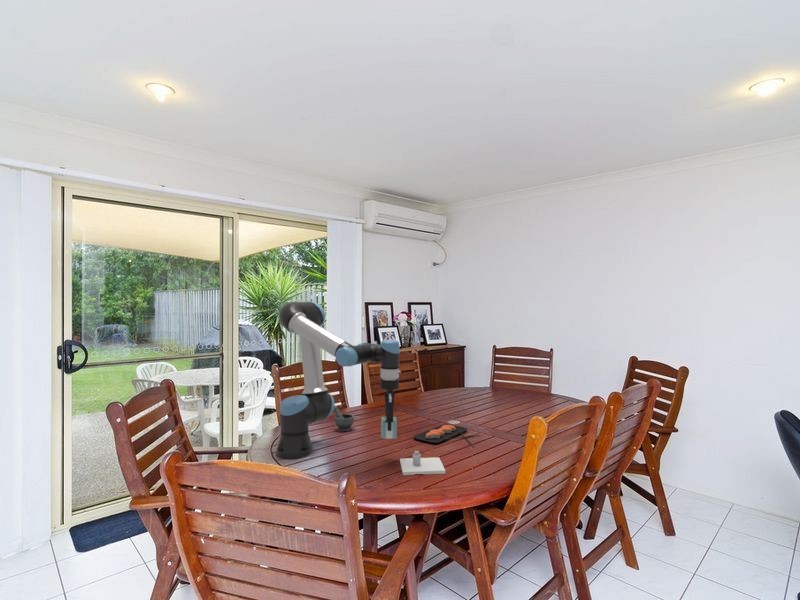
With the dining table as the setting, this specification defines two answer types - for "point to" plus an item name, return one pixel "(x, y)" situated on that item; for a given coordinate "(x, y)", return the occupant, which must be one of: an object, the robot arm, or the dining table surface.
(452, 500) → the dining table surface
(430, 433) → the sushi plate
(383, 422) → the cap
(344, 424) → the mortar and pestle
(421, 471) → the stud board
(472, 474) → the dining table surface
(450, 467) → the dining table surface
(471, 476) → the dining table surface
